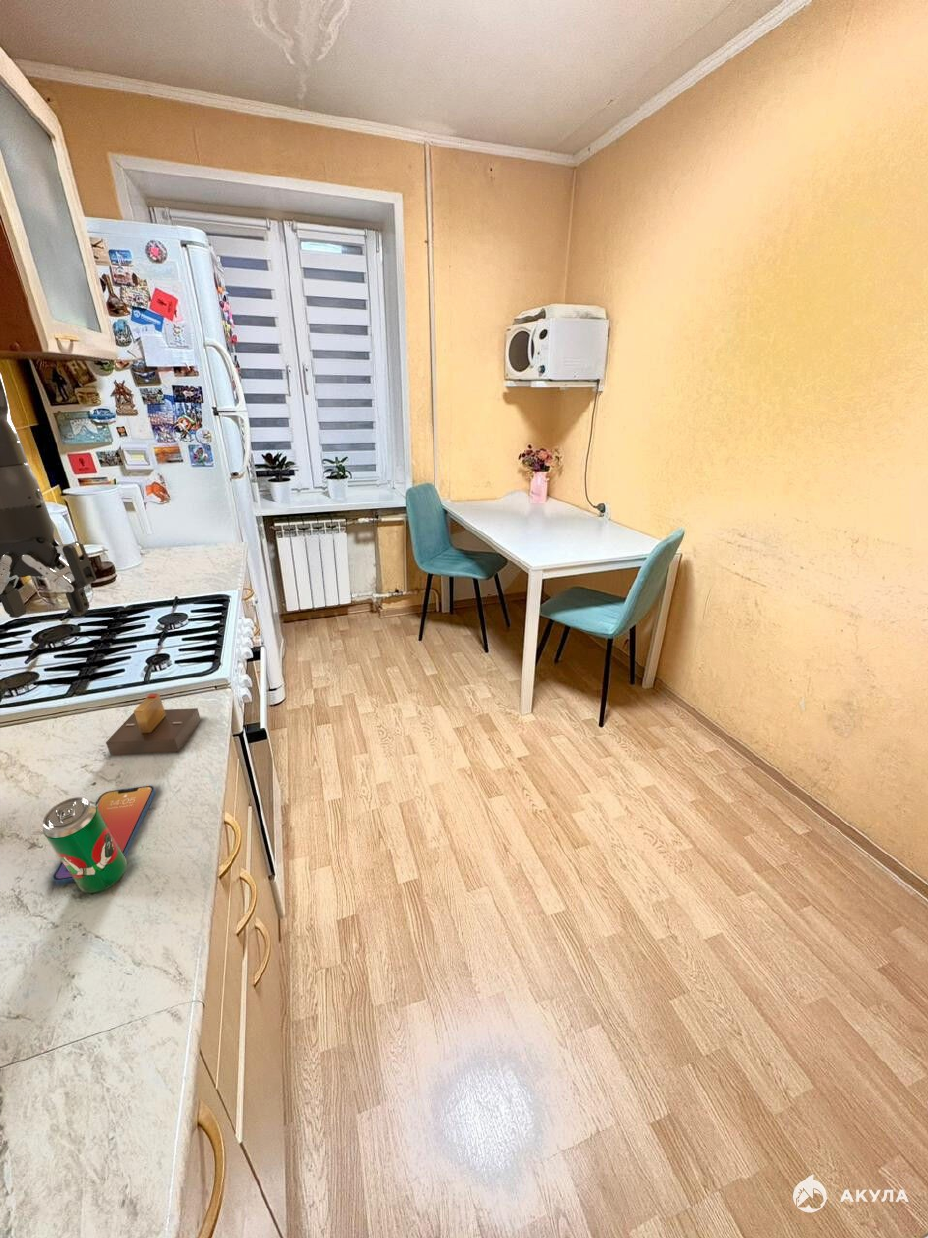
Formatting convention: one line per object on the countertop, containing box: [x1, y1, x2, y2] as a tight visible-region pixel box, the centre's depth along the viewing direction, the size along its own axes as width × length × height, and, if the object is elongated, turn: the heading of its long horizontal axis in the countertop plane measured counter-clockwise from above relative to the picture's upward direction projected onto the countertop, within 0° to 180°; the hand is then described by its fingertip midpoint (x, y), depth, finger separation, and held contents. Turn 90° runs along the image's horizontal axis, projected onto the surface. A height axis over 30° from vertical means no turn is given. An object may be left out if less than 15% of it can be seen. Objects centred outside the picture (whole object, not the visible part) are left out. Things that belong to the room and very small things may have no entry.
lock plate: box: [105, 707, 202, 756], centre depth 86 cm, size 11×9×3 cm
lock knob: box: [133, 693, 166, 733], centre depth 85 cm, size 5×2×5 cm, turn 1°
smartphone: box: [52, 785, 156, 885], centre depth 68 cm, size 7×15×1 cm, turn 12°
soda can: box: [42, 796, 128, 894], centre depth 59 cm, size 5×5×12 cm
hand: (50, 614), depth 71 cm, fingers open, 8 cm apart
